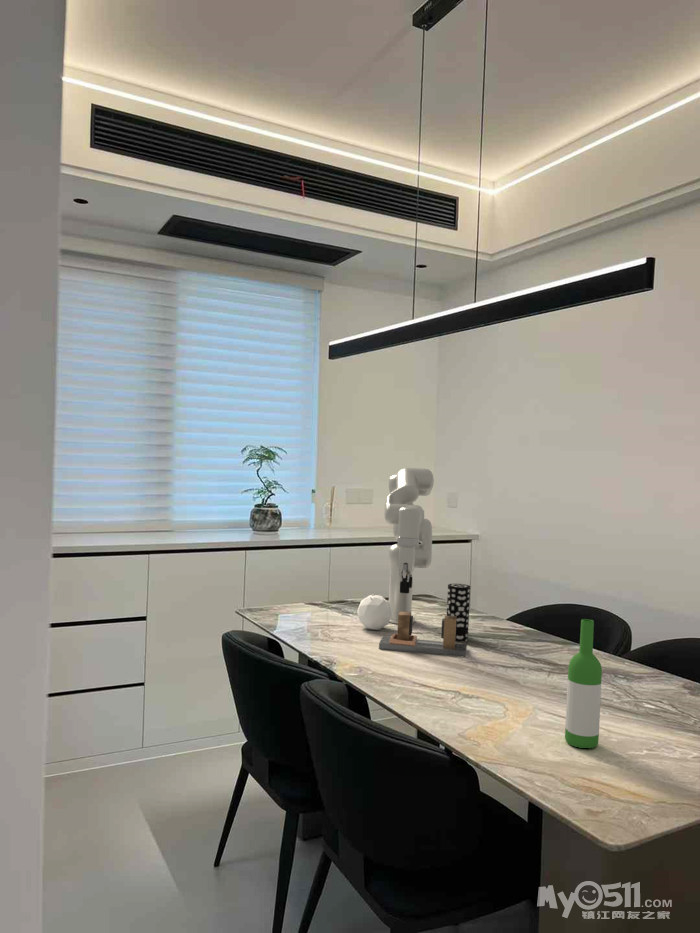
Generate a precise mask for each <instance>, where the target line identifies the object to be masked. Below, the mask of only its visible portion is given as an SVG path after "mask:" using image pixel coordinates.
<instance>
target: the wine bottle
mask: <svg viewBox="0 0 700 933" xmlns="http://www.w3.org/2000/svg"><path fill="white" fill-rule="evenodd" d="M594 627H595V621H594V620H593V619H587V618H582V619H581V620H580V634H579V636H580V637H579V651H578V652H577V653H576V654H574V655H573V656H572V658H570V661H569V663H568V671H567V688H566V689H567V690H566V706H565V723H564V724H565V726H564V728H565V730H564V739H565V741H566V743H567V744H568V745H569V744H570V746H571V745H572V746H571V747H573V746H575V747H574V748H576V747H579V748H578V749H580V748H593V749H595V748H597V746H598V744H599V739H600V738H599V737H600V736H599V735H600V720H601V696H602V676H603V675H602V674H603V669H602V665H601V662H600V661H599V659H598V658H597V657H596V656H595V654H594V653H593V648H594ZM594 747H595V748H594Z"/></svg>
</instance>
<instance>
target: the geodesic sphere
mask: <svg viewBox="0 0 700 933" xmlns="http://www.w3.org/2000/svg"><path fill="white" fill-rule="evenodd" d="M356 612H357V616H358V620H359V623H360V624H362V625H363V626H364V627H365V628H366V629H367V630H374V631H379V630H382V629H383V628H385V626H388V625H389V623H390V622H389V621H390V618H391V616H392V611H391V607H390V603H389V600H386V599H385V598H384V596H382V595H377V594H370V595H367V597H365V598H364V599H362V600H360V604H359V605H358V608H357V611H356Z"/></svg>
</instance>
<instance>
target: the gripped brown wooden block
mask: <svg viewBox="0 0 700 933" xmlns="http://www.w3.org/2000/svg"><path fill="white" fill-rule="evenodd" d="M413 618H414V615H412V611H411V612H399V614H398V624H397V630H396V631H397V632H396V634H397V639H400V640H410V635H412V634H413V625H414V623H413Z"/></svg>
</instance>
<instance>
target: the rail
mask: <svg viewBox="0 0 700 933" xmlns="http://www.w3.org/2000/svg"><path fill="white" fill-rule="evenodd" d="M456 618H457V616H447V614H445V616H444V618H442V620H441V632H440V634H441V635H440V636H441V637H440V638H441V639H442V641H438V640H429V639H419V638H418V635H412V634H411V635H410V640H400V639H397V633H392V634H391V636H385V635H384V636H382V637H381V639H380V641H379V643H378V649H379V650H384V651H385V650H387V651H398V652H406V651H407V652H408V653H409V652H410V653H418V654H430V655H438V656H439V655H440V656H449V657H450V656H452V657H460V658H461V657H462V658H466V657H467V646H468V645H467V643H463V642H462V643H461V642H456V641H455V639H456Z"/></svg>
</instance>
